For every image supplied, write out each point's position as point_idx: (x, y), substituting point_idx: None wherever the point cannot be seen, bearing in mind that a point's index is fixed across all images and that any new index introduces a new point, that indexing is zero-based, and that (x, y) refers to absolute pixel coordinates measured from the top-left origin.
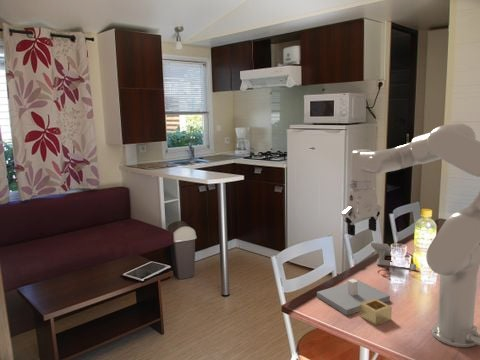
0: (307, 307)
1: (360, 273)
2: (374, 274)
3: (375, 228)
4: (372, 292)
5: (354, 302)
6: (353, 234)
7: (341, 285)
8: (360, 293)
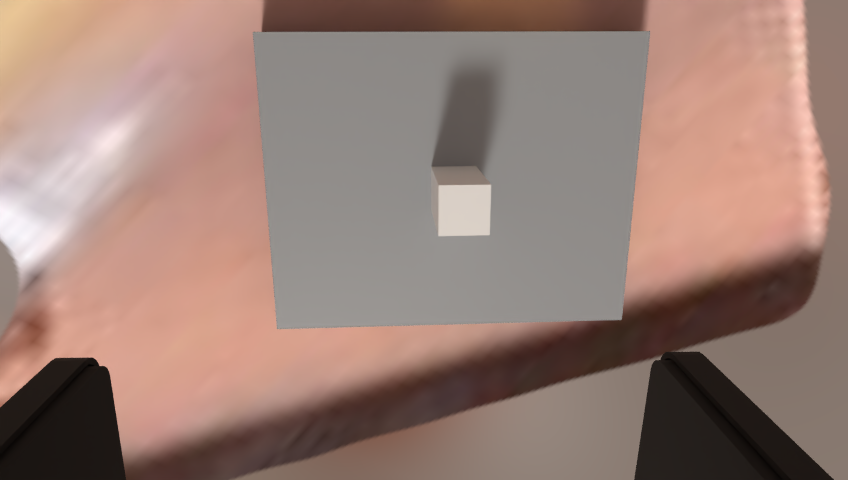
0: (740, 232)
1: (156, 428)
2: None
3: (52, 382)
4: (326, 133)
5: (533, 85)
6: (707, 366)
7: (431, 315)
8: (407, 164)
